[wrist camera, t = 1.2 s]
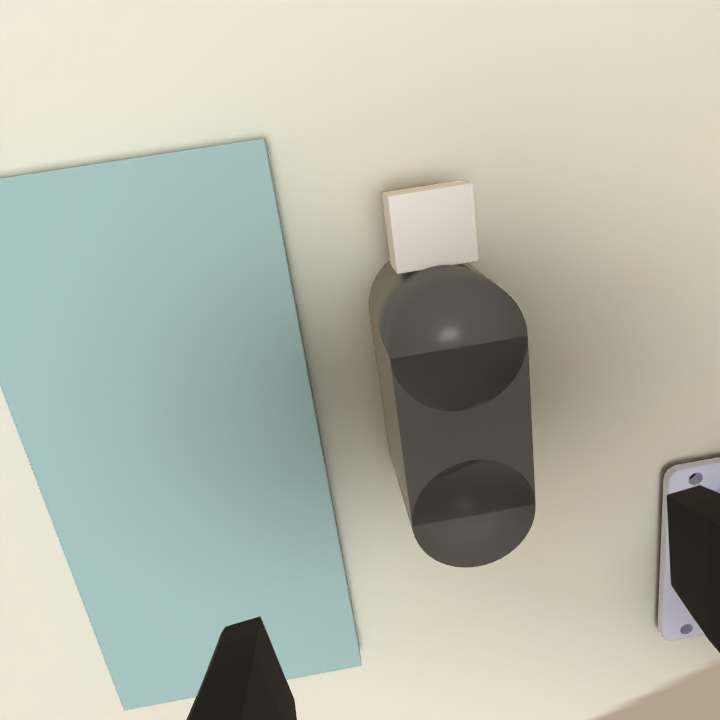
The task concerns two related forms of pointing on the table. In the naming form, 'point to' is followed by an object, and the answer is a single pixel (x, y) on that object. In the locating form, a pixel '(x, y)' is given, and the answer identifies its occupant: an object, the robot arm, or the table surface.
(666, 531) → the robot arm
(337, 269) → the table surface
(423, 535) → the connector
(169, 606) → the desk mat
